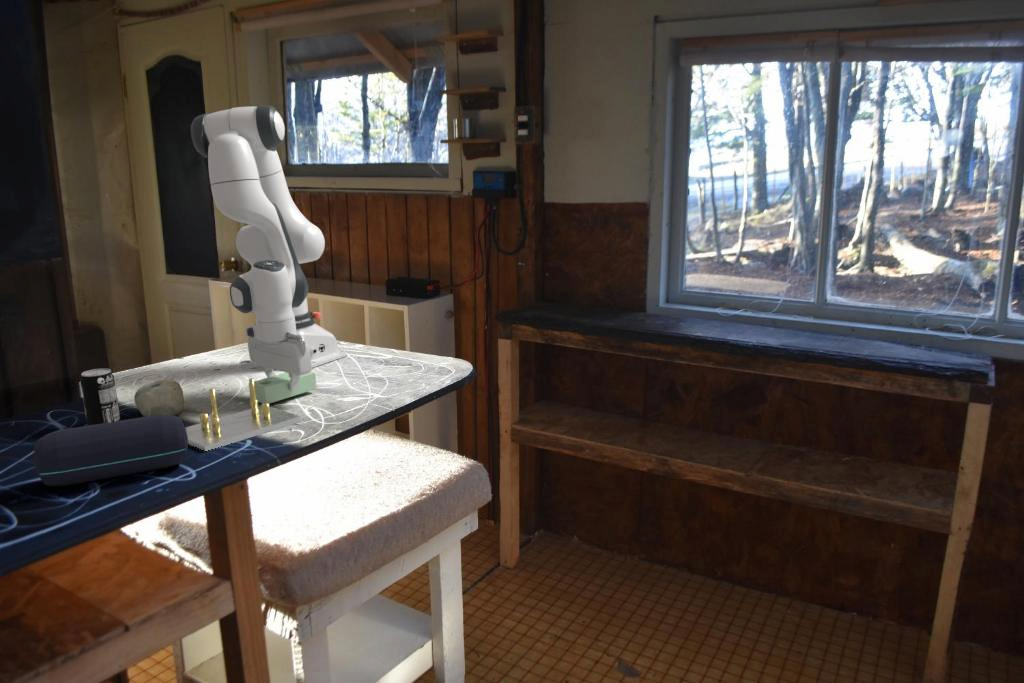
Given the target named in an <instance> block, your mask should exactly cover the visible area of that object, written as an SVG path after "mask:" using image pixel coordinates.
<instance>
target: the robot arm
mask: <svg viewBox="0 0 1024 683" xmlns="http://www.w3.org/2000/svg"><path fill="white" fill-rule="evenodd" d="M285 131H286V128H285V123H284V120H283V118H282V116H281V114H280V112H279V110H277V109H276V108H275V107H274V106H272V105H266V104H258V106H253V105H252V106H238V107H232V108H229V109H223V110H217V111H214V112H211V113H208V112H206V113H203V114H200V115H198V116H195V117H194V119H193V120H192V123H191V124H190V138H191V141H192V144H193V147H194V148H195V150H196V152H198V153H199V154H200V155H201V157H204V158H206V159H207V162H208V163H207V164H208V167H207V168H208V178H209V182H210V189H211V195H212V197H213V201H214V204H215V206H216V208H217V209H218V211H219V212H220V213H221V214H222V215H224V216H226V217H227V218H228V219H231V220H233V221H235V222H238V223H242V224H245V225H243V226H242V227H241V228H240V229H239V230H238V232H237V233H236V234H237V235H236V238H235V245H236V249H237V252H238V254H239V255H240V257H241V258H242V259H244V260H245V261H246V262H247V263H248V264H249V265H250V266H251V268H250V270H249V271H247V272H244V273H242V274H240V275H236V277H234V278H233V280H232V281H231V283H230V286H229V296H230V302H231V304H232V306H233V307H234V308H235V309H236V310H237V311H239V312H241V313H242V314H255V324H253V325H250V326H246V328H245V329H244V331H245V332H244V333H245V335H246V337H247V348H248V349H247V350H248V355H249V359H250V362H251V363H252V364H253V365H256V366H260V367H263V371H264V373H265V375H266V378H268V377H272V376H275V375H276V373H275V370H276V371H278V372H283V373H289V377H291V378H290V383H288V389H289V390H292V391H295V390H297V389H298V380H299V377H300V376H301V375H305V374H308V373H310V372H312V370H313V369H314V368H315V367H319V366H322V365H324V364H327V363H330V362H333V361H336V360H339V359H342V358H344V357H347V355H348V354H347V352H346V350H344V349H341V348H339V347H338V342H337V338H336V337H335V335H334V334H333V333H332V332H330V331H328V330H327V329H325V328H323V327H321V326H320V325H319V324H317V323H316V322H315V320H321V318H322V316H323V314H322V313H321V312H320V311H319V312H318V311H313V312H312V311H310V310H309V308H308V294H309V283H308V281H307V278H306V276H305V274H304V272H303V269H302V268H301V264H302V265H303V264H307V263H310V262H311V263H312V262H315V261H318V260H319V259H320V258H321V256H322V255H323V254H324V251H325V247H326V246H325V245H326V241H325V237H324V234H323V232H322V230H321V229H320V228H319V227H318V226H317V225H315V224H314V223H312V222H311V221H309V219H308V218H306V216H304V214H303V213H302V212H301V211H300V210H299V208H298V207H297V205H296V204H295V202H294V200H293V198H292V196H291V193H290V191H289V187H288V183H287V180H286V176H285V173H284V170H283V169H284V168H283V166H282V163H281V159H280V156H279V154H278V152H277V149H278V148H280V147H281V146H282V144H283V143H284V141H285V138H286V137H285V134H286V132H285Z"/></svg>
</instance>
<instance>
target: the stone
mask: <svg viewBox="0 0 1024 683" xmlns="http://www.w3.org/2000/svg"><path fill="white" fill-rule="evenodd" d="M134 402H135V405H136V407H137V409H138V411H139V412H140V414H141V415H142V417H147V416H153V415H160V414H164V415H173V416H176V417H177V415H179V414H181V413H182V412H183V411H184V408H185V398H184V391H183V388H182V386H181V384H180V383H179V382H178V381H176V380H173V379H163V380H160V379H159V380H156V381H153V382H151V383H148V384H146V385H143V386H141V387H139V388H138V389H137V390H136V392H135V393H134Z"/></svg>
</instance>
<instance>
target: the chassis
mask: <svg viewBox="0 0 1024 683" xmlns="http://www.w3.org/2000/svg"><path fill="white" fill-rule="evenodd" d="M254 382H255V379H254V378H248V386H249V385H250V391H249V395H250V394H251V399H250V400H249V405H250V408H249V409H245V410H242V411H239V412H235V413H231V414H227V415H225V416H221V417H219V414H218V405H217V398H216V397H217V396H216V390H215V388H209V396H210V404H211V406H210V407H211V411H212V412H211V414H212V417H211V418H209V413H208V412H202V413H200V414H199V418H200V419H199V420H200V423H196V424H192V425H190V426H187V427H185V428H186V432H187V437H188V444H189V445H188V446H190V447H193V446H194V447H193V448H195V447H197V448H196V449H198V448H199V450H200V449H201V450H200V451H202V450H204V451H203V452H205V451H207V452H209V451H208V450H210V451H212V450H211V449H213V450H215V448H216V449H218V447H219V448H221V446H222V447H225V446H228V445H231V443H232V444H234V443H238V442H240V441H243V440H247V439H249V438H253V437H256V436H259V435H263V434H266V433H270V432H272V431H274V430H275V431H276V430H279V429H281V428H285V427H288V426H291V425H293V424H298V423H301V421H302V420H301V416H300V415H298V414H294V413H291V412H288V411H285V410H282V409H279V408H276V407H273V406H270V403H261V404H260V405H259V402H258V400H257V399H256V394H255V386H254ZM209 419H210V420H209Z"/></svg>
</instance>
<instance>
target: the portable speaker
mask: <svg viewBox="0 0 1024 683" xmlns="http://www.w3.org/2000/svg"><path fill="white" fill-rule="evenodd" d="M188 446H189V445H188V437H187V432H186V427H185V425H184V423H183V420H182V418H180V417H179V416H177V415H176V416H173V415H164V414H160V415H153V416H147V417H144V416H141V417H136V418H135V417H134V418H128V419H122V420H121V419H120V420H119V421H114V422H109V423H101V424H96V425H88V424H87V425H84V426H78V427H72V428H65V429H59V430H55V431H52V432H49V433H47V434H45V435H43V436H42V437H40V438H39V439H38V440H36V442H35V444H34V451H33V454H34V455H33V464H34V467H35V469H36V473H37V474H38V476H39V478H40V480H41V481H42V483H43V485H46V486H50V487H62V486H63V487H64V486H65V487H66V486H72V485H77V484H81V483H83V484H84V483H88V482H94V481H99V480H104V479H110V478H115V477H121V476H127V475H132V474H138V473H143V472H148V471H153V470H155V471H156V470H159V469H165V468H169V467H170V466H171V467H173V466H175V465H178V464H181V463H182V462H184V460H185V458H186V454H187V452H188ZM171 467H170V468H171Z"/></svg>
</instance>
